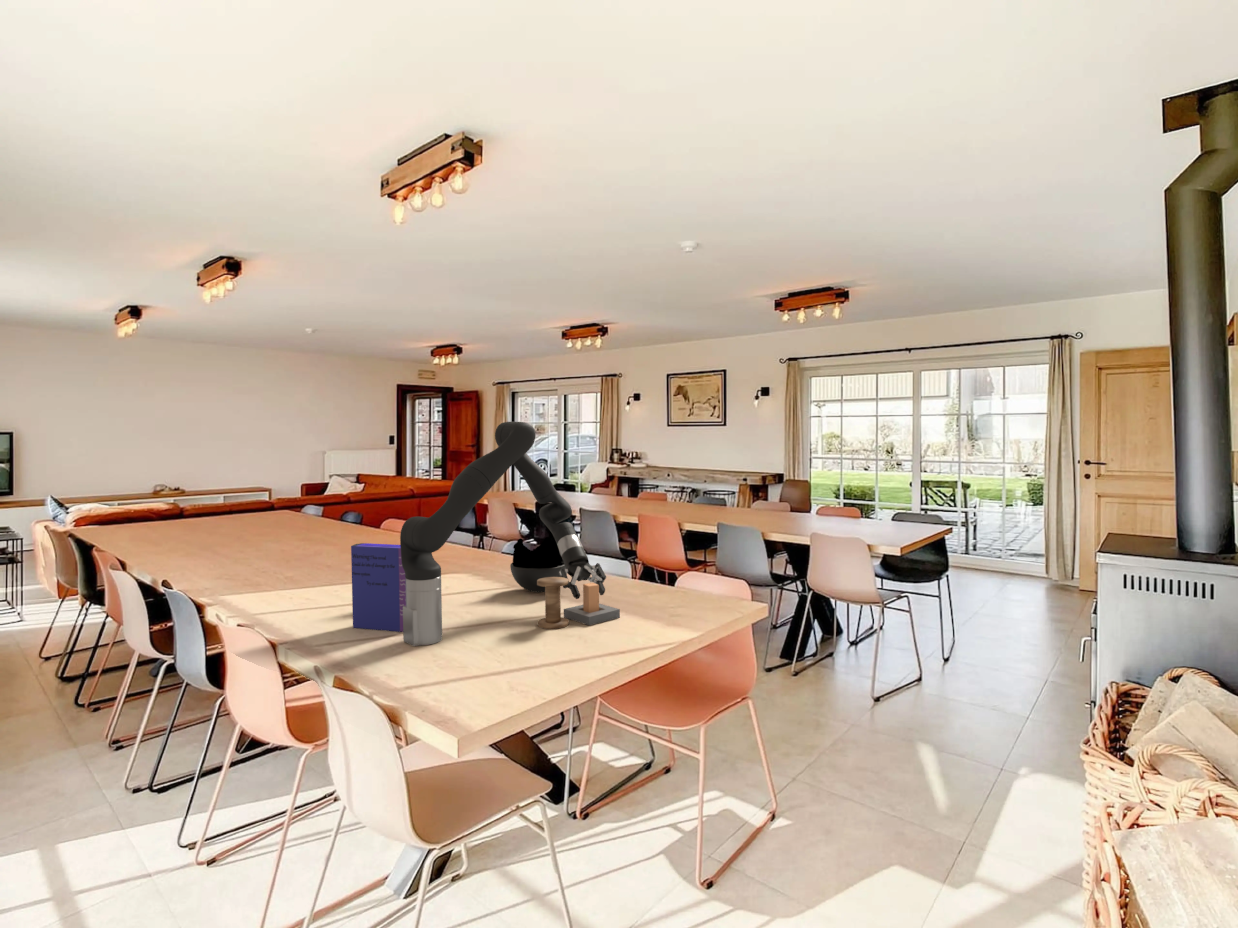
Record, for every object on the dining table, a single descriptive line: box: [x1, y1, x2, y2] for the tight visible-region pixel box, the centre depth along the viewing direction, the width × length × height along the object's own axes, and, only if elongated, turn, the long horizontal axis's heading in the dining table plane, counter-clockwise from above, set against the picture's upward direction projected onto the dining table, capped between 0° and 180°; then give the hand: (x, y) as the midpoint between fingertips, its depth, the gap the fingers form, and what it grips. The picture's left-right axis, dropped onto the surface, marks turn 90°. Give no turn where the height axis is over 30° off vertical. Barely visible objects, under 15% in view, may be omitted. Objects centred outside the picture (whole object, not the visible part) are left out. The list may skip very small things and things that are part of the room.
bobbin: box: [537, 577, 570, 630], centre depth 188 cm, size 9×9×13 cm
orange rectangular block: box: [582, 582, 600, 613], centre depth 195 cm, size 4×4×10 cm
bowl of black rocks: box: [509, 537, 566, 593], centre depth 228 cm, size 20×20×19 cm
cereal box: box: [350, 542, 406, 633], centre depth 185 cm, size 17×5×24 cm, turn 74°
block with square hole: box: [563, 603, 621, 626], centre depth 195 cm, size 12×12×2 cm
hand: (590, 595), depth 196 cm, fingers open, 8 cm apart
